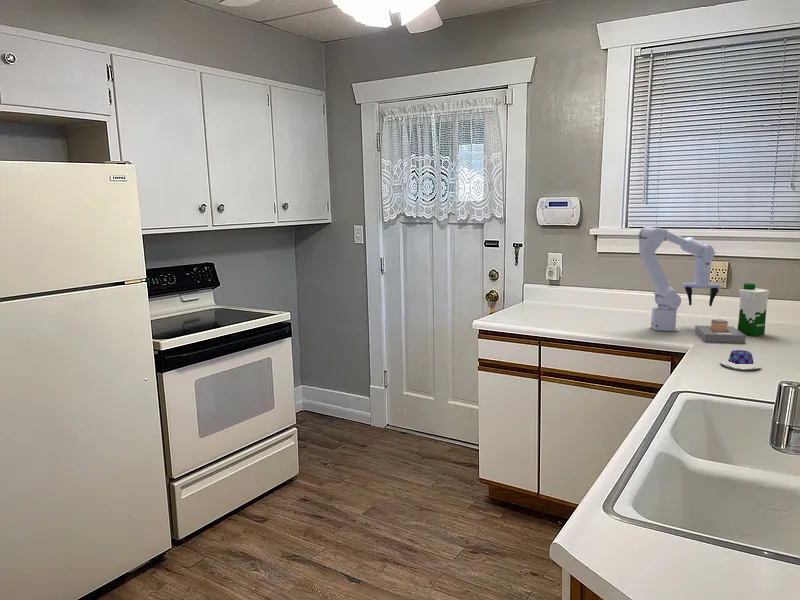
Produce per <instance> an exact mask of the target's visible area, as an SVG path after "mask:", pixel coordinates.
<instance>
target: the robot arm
mask: <svg viewBox="0 0 800 600" xmlns="http://www.w3.org/2000/svg"><path fill="white" fill-rule="evenodd" d="M637 239H638V252H639V253H638V254H639V256H640V259H641V261H642V263H643V264H644V267H645V270H646V271H647V274H648V275H649V277H650V280H651V281H652V284H653V286H654V288H655V290H654V291H653V295H654V302H655V304H657V307H654V308H652V310H651V319H650V322H651V323H650V327H651V328H652V330H653V331H659V332H660V331H665V332H666V331H667V332H672V331H673V332H679V329H678V328H677V327H676V326H677V313H678V310H679V309H678V308H679V307H680V306H681V304H682V298H681V296H680V295H679V294H677V292H676V290H675V289H674V288H673V287H672V286H670V283H669V282H668V279H667V277H666V275H665V273H664V271H663V268H662V266H661V263H660V261H659V260H658V257H657V255H656V251H657V250H658V248H659V247H660V246H661V245H662V244H663V243H664V242H670V243H673V244H675V245H677V246H680V249H681V250H682V251H683V252H686V253H688V254H690V255H693V256H694V257H695V268H694V281H693V282H682V286H681V287H682V289H685V292H686V294H687V298H688V305H689V306H692V304H693V303H692V299H693V298H692V295H693V289H709V290H710V292H709V294H710V295H709V301H708V302H709V303H708V306H710V307H712V305H713V303H714V300H715V297H716V296H717V294H718V293H719V290H722V284H721V283H710V281H711V280H710V279H711V266H712V262H713V258H714V257H715V255H716V251H715V250H714V247H713V246H712V245H709V244H705V243H704V241H699V240H696V238H695V237H694V236H690V237H689V236H688V237H685V238H684V237H682V236H680V235H678V234H676V233H674V232H672V231H670V230H668V229H663V228H662V227H650V226H644V227H642V228H641V229H640V231H639V232H638V235H637Z"/></svg>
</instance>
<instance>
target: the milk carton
mask: <svg viewBox="0 0 800 600" xmlns="http://www.w3.org/2000/svg"><path fill="white" fill-rule="evenodd" d="M738 292H739V299H740V301H739V310H738V311H739V314H738V321H737V322H738V323H737V328H736V329H737V330H739V331H740V332H741V333H743V334H744V335H746V336H751V337H758V336H765V335H766V334H765V333H766V320H767V319H766V318H767V317H766V316H767V309H768V299H769V296H770V290H768V289H763V288H756V283H752V282H751V283H749V282H748V283H745V282H744V283H743V288H741V289H740V288H739V290H738Z"/></svg>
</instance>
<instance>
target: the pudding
mask: <svg viewBox="0 0 800 600" xmlns="http://www.w3.org/2000/svg"><path fill="white" fill-rule="evenodd" d="M727 360H728V361H729V362H732V363H735V364H753V363H755V362H754V358H753V354H752V353H751V352H750V351H748V350H742V349H734V350H731V351H730V355H729V357H728V359H727Z"/></svg>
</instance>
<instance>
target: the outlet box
mask: <svg viewBox="0 0 800 600" xmlns="http://www.w3.org/2000/svg"><path fill="white" fill-rule="evenodd" d="M694 326H695V327H694V334H695V335H697V336H698V337H699V338H700V339H701V338H702V339H703V340H704V341H708V342H707V343H719V342H726V343H727V344H746V339H747V338H746V337H747V335H744V334H743V333H741V332H740V331H739V330H737V329H738V328H735V327H734V326H729V325H727V332H713V331H712V330H711V325H694ZM702 339H701V340H702ZM703 340H702V341H703ZM704 341H703V342H704Z"/></svg>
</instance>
